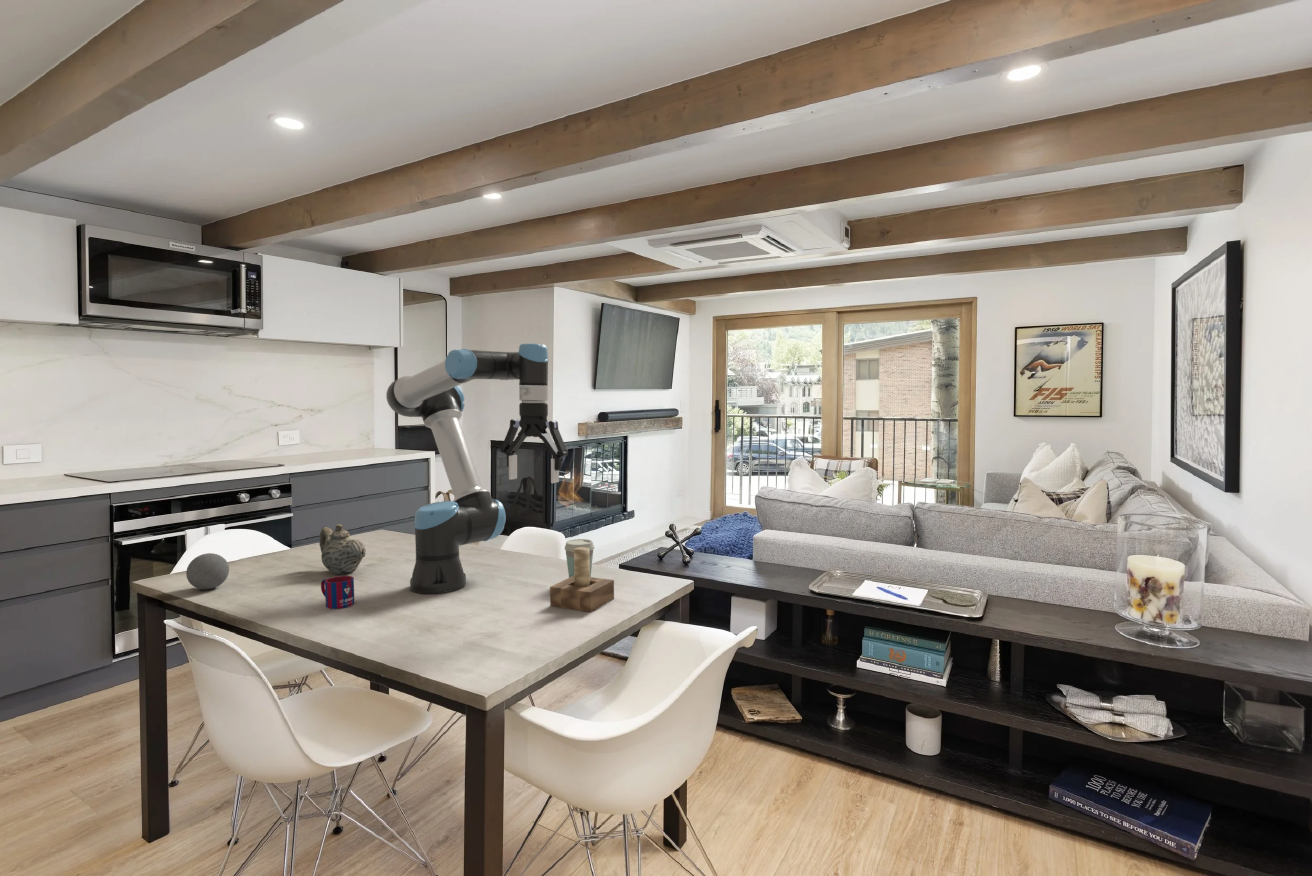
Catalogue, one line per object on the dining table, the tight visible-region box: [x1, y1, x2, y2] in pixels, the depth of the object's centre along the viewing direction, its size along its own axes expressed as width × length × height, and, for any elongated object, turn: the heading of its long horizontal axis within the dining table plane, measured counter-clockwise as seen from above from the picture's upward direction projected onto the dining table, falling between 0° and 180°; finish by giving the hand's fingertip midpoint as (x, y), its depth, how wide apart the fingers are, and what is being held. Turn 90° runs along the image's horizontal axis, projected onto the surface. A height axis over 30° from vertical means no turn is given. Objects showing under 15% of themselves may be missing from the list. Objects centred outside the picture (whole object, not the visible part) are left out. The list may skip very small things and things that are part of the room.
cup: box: [320, 575, 355, 610], centre depth 172 cm, size 7×10×7 cm
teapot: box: [318, 523, 367, 575], centre depth 203 cm, size 21×12×15 cm, turn 58°
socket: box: [549, 576, 615, 613], centre depth 172 cm, size 12×12×5 cm
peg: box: [574, 547, 590, 587], centre depth 172 cm, size 4×4×14 cm
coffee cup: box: [564, 538, 595, 578], centre depth 189 cm, size 9×9×12 cm
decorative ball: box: [185, 552, 230, 591], centre depth 186 cm, size 10×10×10 cm
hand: (533, 480), depth 179 cm, fingers open, 13 cm apart
